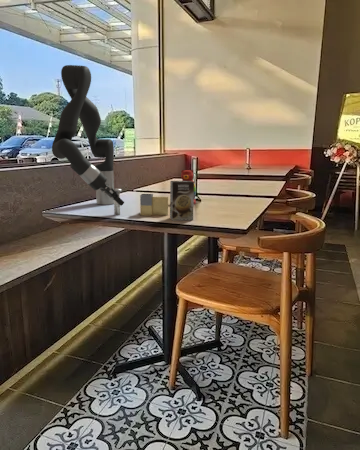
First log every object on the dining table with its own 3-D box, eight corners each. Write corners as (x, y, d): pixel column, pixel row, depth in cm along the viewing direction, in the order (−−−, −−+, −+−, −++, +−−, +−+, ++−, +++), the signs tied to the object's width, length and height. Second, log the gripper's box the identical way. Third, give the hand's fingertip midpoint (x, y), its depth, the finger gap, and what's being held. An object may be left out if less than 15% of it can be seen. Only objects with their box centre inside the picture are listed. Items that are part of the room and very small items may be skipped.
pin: (113, 213, 166) (112, 188, 163) (123, 213, 165) (122, 188, 163) (111, 215, 161) (110, 189, 159) (121, 215, 161) (120, 189, 158)
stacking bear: (174, 203, 197) (174, 170, 193) (180, 200, 206) (180, 169, 202) (194, 204, 194) (194, 170, 190) (198, 201, 203) (199, 169, 199)
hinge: (144, 210, 174) (144, 191, 172) (169, 211, 173) (169, 192, 172) (140, 215, 162) (140, 195, 160) (167, 215, 162) (167, 195, 160)
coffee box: (172, 221, 151) (172, 181, 148) (169, 218, 157) (169, 180, 154) (193, 220, 153) (194, 181, 149) (190, 217, 159) (190, 180, 156)
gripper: (103, 171, 150) (132, 199, 158) (94, 169, 162) (122, 195, 170) (91, 185, 148) (121, 212, 156) (83, 181, 160) (111, 207, 169)
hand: (121, 203), depth 163 cm, fingers closed on pin, 2 cm apart
